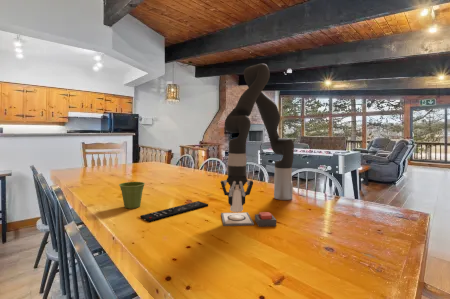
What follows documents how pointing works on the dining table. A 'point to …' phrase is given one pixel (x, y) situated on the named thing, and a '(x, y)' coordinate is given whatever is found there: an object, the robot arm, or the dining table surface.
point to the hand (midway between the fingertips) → (236, 204)
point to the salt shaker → (236, 200)
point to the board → (236, 219)
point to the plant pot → (132, 194)
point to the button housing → (265, 221)
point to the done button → (265, 215)
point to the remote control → (173, 211)
